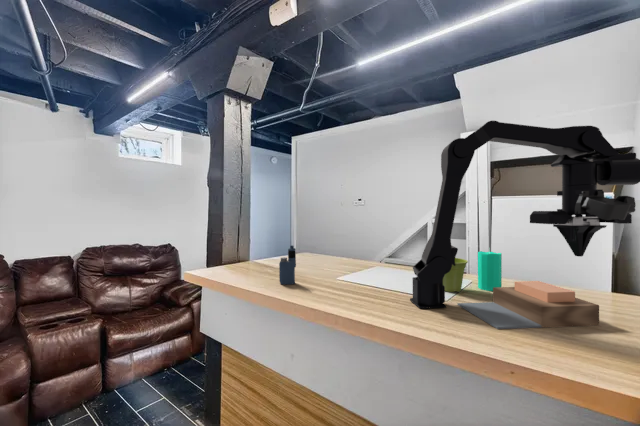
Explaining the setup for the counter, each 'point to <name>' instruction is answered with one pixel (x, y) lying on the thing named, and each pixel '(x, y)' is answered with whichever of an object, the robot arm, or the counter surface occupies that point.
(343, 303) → the counter surface
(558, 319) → the wooden block
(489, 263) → the candle
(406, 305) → the counter surface
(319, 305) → the counter surface
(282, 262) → the vaping device
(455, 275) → the plant pot
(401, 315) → the counter surface
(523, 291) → the salmon pink brick
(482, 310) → the mat
